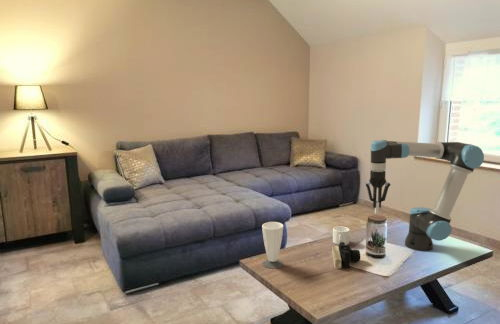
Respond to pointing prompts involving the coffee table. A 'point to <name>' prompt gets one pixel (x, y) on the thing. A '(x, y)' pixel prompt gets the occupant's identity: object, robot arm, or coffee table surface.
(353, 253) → the camera
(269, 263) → the cup
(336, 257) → the board
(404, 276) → the coffee table surface
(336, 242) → the mug
